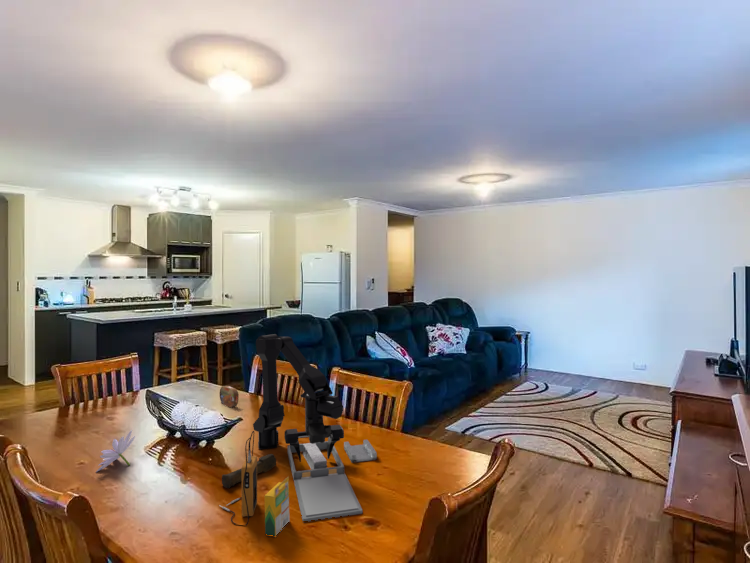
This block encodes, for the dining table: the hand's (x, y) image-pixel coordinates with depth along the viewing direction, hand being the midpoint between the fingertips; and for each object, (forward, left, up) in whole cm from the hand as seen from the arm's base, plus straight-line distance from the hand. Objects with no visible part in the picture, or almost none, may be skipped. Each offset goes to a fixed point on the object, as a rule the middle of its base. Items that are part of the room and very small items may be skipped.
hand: (314, 459), depth 150 cm
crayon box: (-14, -35, -1) cm, 38 cm away
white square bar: (0, 0, -1) cm, 1 cm away
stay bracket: (+16, +3, -1) cm, 16 cm away
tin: (-29, +74, -1) cm, 79 cm away
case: (0, -12, -1) cm, 12 cm away
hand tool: (-20, -4, -2) cm, 21 cm away
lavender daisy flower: (-62, +16, -1) cm, 64 cm away
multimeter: (-24, -24, -1) cm, 34 cm away
